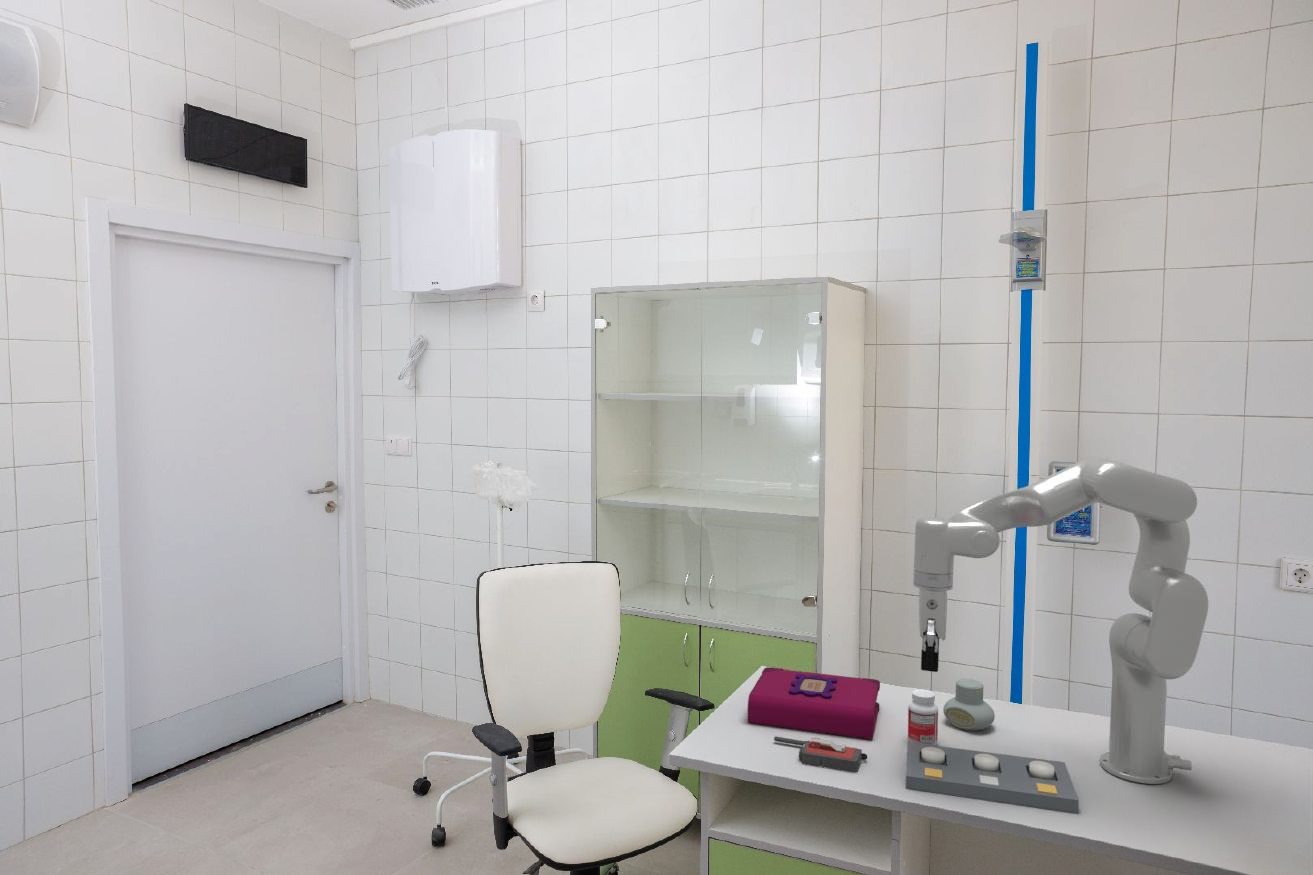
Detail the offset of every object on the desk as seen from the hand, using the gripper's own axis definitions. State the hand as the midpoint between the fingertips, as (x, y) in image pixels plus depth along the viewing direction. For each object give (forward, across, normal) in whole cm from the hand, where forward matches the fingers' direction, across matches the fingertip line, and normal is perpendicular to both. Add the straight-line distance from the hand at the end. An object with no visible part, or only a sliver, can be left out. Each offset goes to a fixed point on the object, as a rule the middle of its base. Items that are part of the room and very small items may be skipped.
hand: (929, 662), depth 168 cm
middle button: (+19, -1, -11) cm, 22 cm away
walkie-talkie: (+22, -3, +22) cm, 31 cm away
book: (+22, +19, +25) cm, 39 cm away
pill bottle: (+22, +12, +1) cm, 25 cm away
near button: (+19, -1, -21) cm, 29 cm away
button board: (+21, -3, -11) cm, 24 cm away
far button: (+19, -1, -1) cm, 19 cm away
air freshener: (+22, +25, -9) cm, 34 cm away
